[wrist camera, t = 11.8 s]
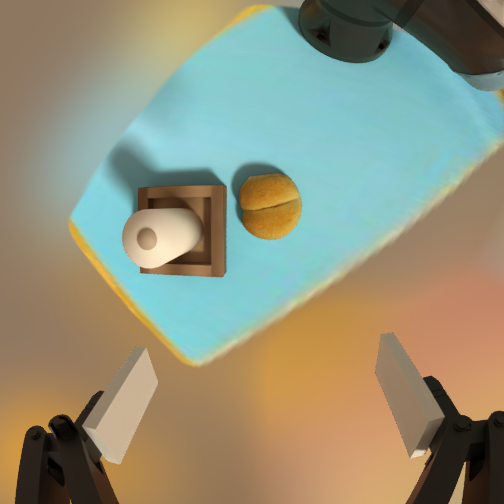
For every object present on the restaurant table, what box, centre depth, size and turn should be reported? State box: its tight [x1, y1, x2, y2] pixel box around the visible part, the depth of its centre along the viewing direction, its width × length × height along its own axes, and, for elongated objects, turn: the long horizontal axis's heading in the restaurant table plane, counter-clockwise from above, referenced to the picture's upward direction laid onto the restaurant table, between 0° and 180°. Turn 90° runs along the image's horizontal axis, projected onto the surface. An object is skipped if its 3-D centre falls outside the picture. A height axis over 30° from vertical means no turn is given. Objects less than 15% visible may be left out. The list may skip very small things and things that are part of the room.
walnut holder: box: [138, 185, 227, 277], centre depth 39 cm, size 12×12×3 cm
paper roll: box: [122, 208, 204, 268], centre depth 34 cm, size 6×6×12 cm
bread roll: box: [239, 173, 302, 240], centre depth 38 cm, size 8×9×4 cm
